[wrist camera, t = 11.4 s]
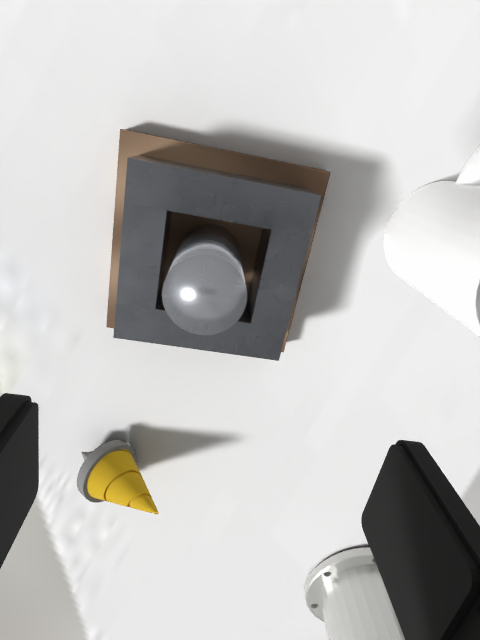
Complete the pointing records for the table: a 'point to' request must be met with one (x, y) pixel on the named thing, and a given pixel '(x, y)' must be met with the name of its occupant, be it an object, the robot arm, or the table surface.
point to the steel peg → (206, 282)
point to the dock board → (183, 223)
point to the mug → (441, 243)
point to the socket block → (221, 204)
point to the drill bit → (114, 477)
